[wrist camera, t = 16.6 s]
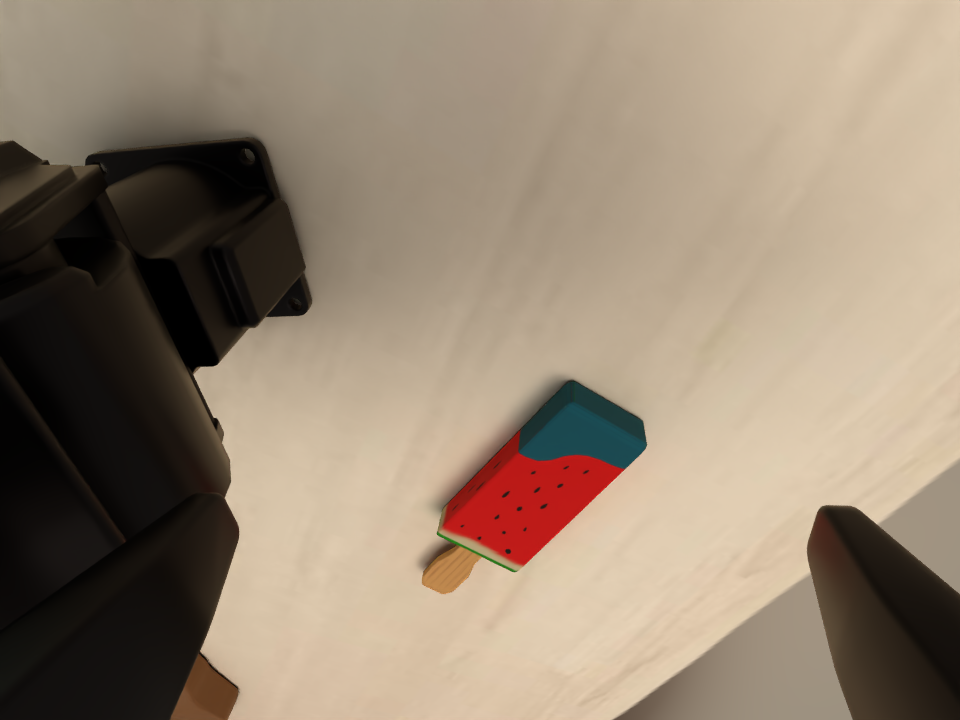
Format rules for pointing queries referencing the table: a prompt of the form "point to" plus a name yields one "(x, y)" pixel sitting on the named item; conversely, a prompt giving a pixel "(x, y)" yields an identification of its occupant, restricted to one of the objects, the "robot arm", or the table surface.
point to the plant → (205, 695)
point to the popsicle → (536, 484)
